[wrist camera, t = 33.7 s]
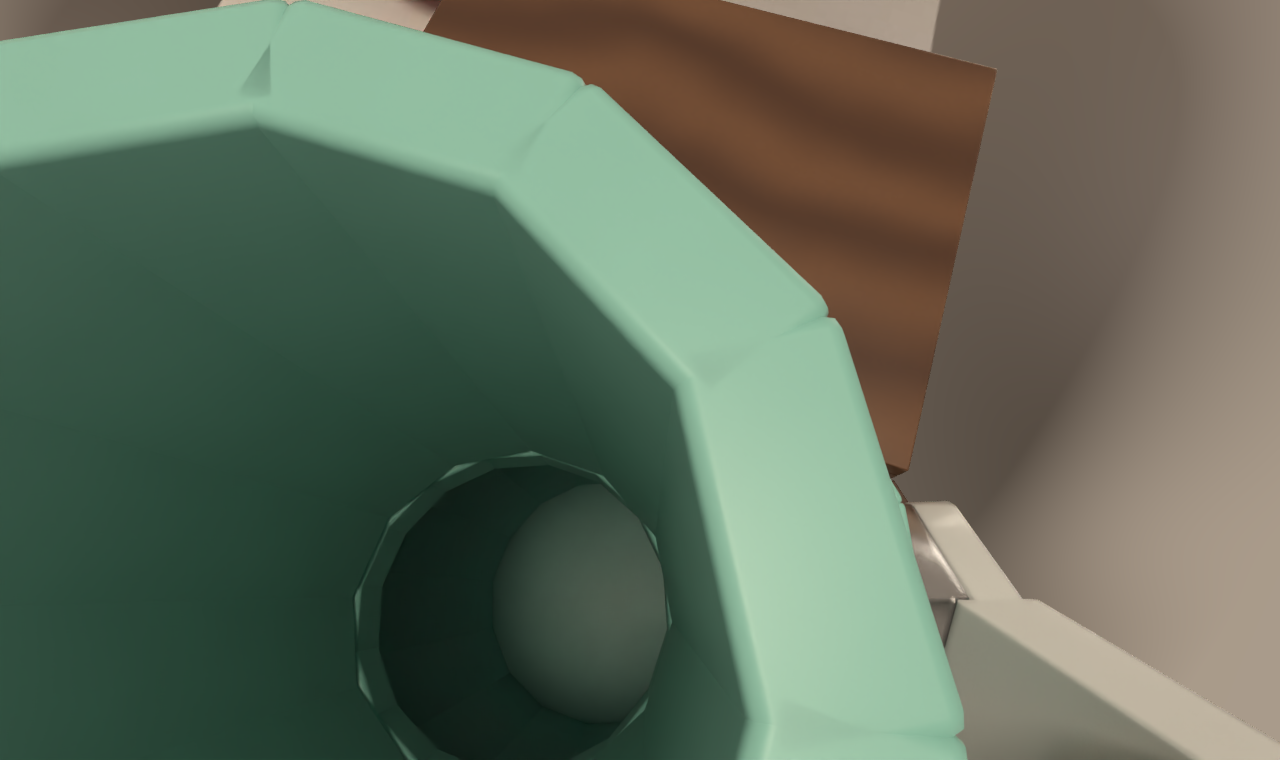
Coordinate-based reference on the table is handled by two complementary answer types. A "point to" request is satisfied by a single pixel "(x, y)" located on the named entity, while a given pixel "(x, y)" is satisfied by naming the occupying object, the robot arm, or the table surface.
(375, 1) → the table surface
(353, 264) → the vase
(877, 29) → the table surface
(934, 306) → the cupboard
